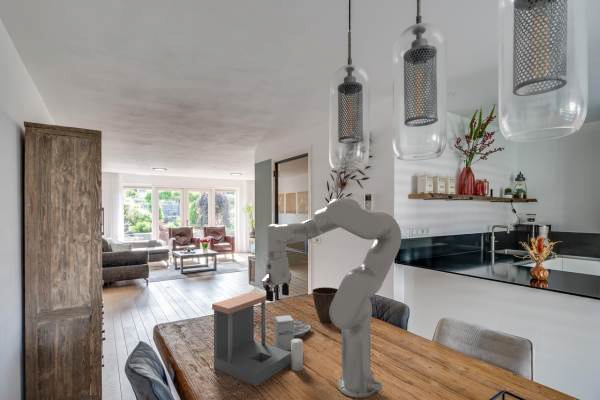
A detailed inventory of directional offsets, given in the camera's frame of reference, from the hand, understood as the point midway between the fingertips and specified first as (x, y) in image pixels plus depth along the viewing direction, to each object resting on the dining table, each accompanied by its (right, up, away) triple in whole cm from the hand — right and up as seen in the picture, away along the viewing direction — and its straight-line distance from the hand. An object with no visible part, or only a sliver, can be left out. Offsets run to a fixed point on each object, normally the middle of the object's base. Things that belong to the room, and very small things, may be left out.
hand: (277, 297), depth 124 cm
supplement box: (+2, -25, +11) cm, 28 cm away
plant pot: (+23, -26, +44) cm, 56 cm away
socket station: (-9, -25, -4) cm, 27 cm away
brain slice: (+6, -26, +28) cm, 39 cm away
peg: (+8, -24, -7) cm, 26 cm away
